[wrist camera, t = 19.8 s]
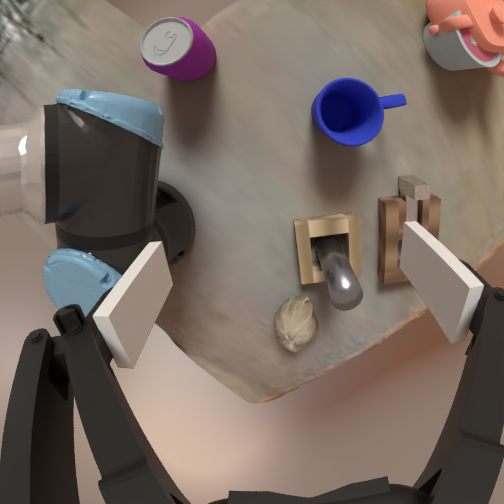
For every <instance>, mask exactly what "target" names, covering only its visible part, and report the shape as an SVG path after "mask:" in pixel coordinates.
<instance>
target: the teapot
mask: <svg viewBox="0 0 504 504" xmlns="http://www.w3.org/2000/svg"><path fill="white" fill-rule="evenodd" d="M458 10H460V12H461V15H459V16H454V17H450V18H447V17H449V16H450V15H452V14H453V13H455V12H457V11H458ZM426 12H427V15H428V17H429V20H430V22H431V23H432V24H434V26H429V27H428V31H429V33H430V34H431V35H432V36H435V34H437V33H439V31H440V28H441V29H442V30H443V31H445V32H451V31H454V30H456V29H462V28H468V30H469V31H470V33H471V35H472V37H473V38H474V39H475V42H477V44H478V46H479V47H480V48H482V49H483V50H485V51H488V52H494V53H498V52H502V53H501V56H502V55H504V2H503V0H427V1H426ZM446 18H447V19H446ZM444 19H445V20H444ZM442 20H443V21H442ZM439 22H440V23H439ZM437 23H439V24H438V25H435V24H437ZM439 27H440V28H439ZM486 68H487V69H488V70H489V71H490V72H492V73H494V74H496V75H499V76H503V77H504V62H503V61H502V60H501V59H500V61H499V63H498V64H497V65H496V66H493V67H486Z"/></svg>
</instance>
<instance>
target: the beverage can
mask: <svg viewBox="0 0 504 504" xmlns="http://www.w3.org/2000/svg"><path fill="white" fill-rule="evenodd" d="M140 52H141V54H142V58H143V60H144V62H145V64H146V65H147V66H148V67H149V68H150V69H151V70H153V71H155V72H158V73H160V74H163V75H166V76H169V77H172V78H175V79H178V80H183V81H192V80H197V79H199V78H201V77H203V76H205V75H206V74H207V73H208V72H209V71H210V70H211V68H212V67H213V65H214V63H215V59H216V50H215V47H214V45H213V43H212V42H211V40H210V39H209V38H208V37H207V36H206V34H205V33H204V32H203V31H202V30H201V28H200V27H199V26H198V25H197V24H195V23H194V22H193V21H192V20H189V19H186V18H183V17H182V18H181V17H167V18H163V19H160V20H158V21H156V22H154V23H152V24H151V25H150V26H149V27H148V28H147V29H146V30H145V32H144V33H143V35H142V37H141V41H140Z"/></svg>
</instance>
